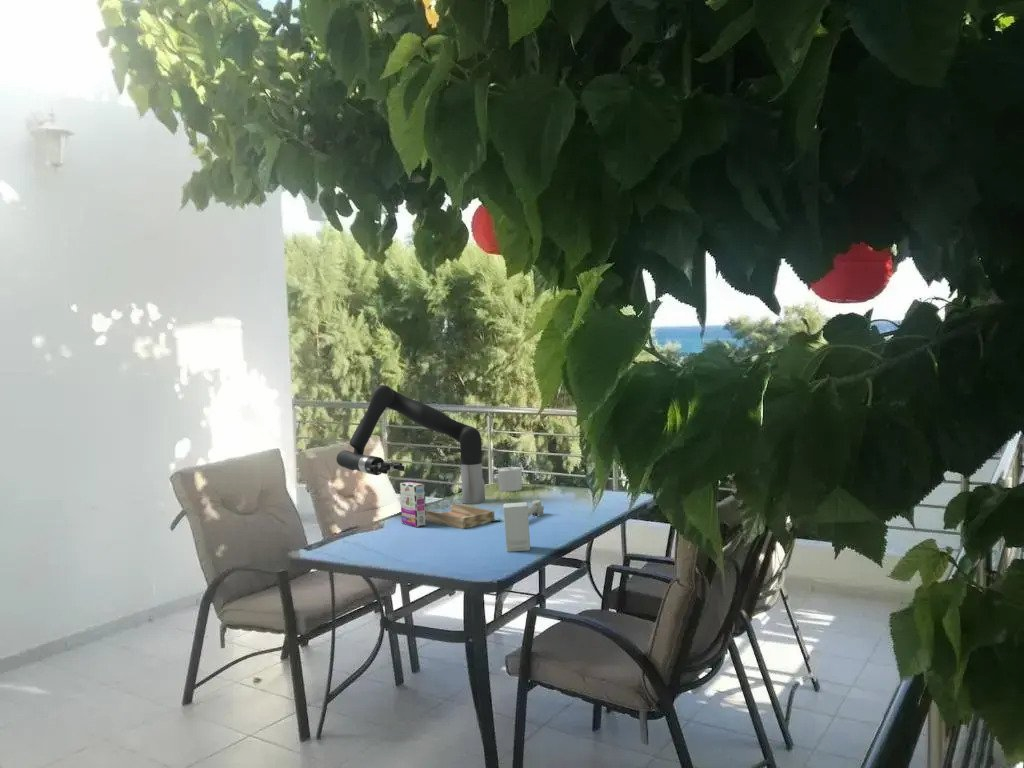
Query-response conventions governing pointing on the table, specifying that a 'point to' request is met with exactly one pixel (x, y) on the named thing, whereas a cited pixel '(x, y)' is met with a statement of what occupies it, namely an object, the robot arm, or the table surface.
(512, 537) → the skincare box
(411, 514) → the candy bar box
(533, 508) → the grey long piece
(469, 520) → the tray
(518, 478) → the toilet tissue
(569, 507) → the table surface
